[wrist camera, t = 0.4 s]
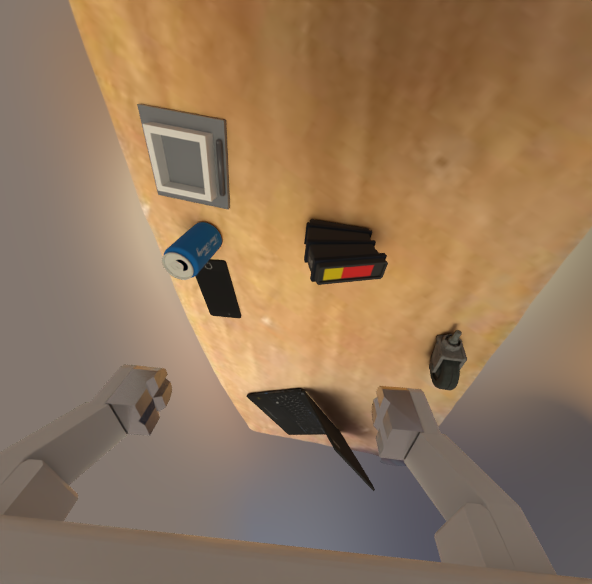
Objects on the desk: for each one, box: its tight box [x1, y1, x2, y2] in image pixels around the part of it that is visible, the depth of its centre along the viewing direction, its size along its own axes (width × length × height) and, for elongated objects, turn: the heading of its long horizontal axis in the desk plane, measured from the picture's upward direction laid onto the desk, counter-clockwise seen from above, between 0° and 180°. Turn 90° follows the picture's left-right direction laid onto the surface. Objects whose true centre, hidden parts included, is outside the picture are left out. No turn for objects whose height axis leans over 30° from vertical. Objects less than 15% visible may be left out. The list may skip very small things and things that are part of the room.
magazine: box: [304, 219, 388, 285], centre depth 42 cm, size 4×13×15 cm, turn 85°
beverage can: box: [162, 222, 222, 280], centre depth 48 cm, size 6×6×12 cm
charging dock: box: [137, 104, 230, 209], centre depth 42 cm, size 14×14×3 cm
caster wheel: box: [429, 330, 467, 390], centre depth 56 cm, size 6×10×15 cm
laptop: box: [247, 389, 375, 491], centre depth 88 cm, size 33×38×19 cm
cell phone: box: [196, 259, 241, 318], centre depth 63 cm, size 9×18×1 cm, turn 4°
